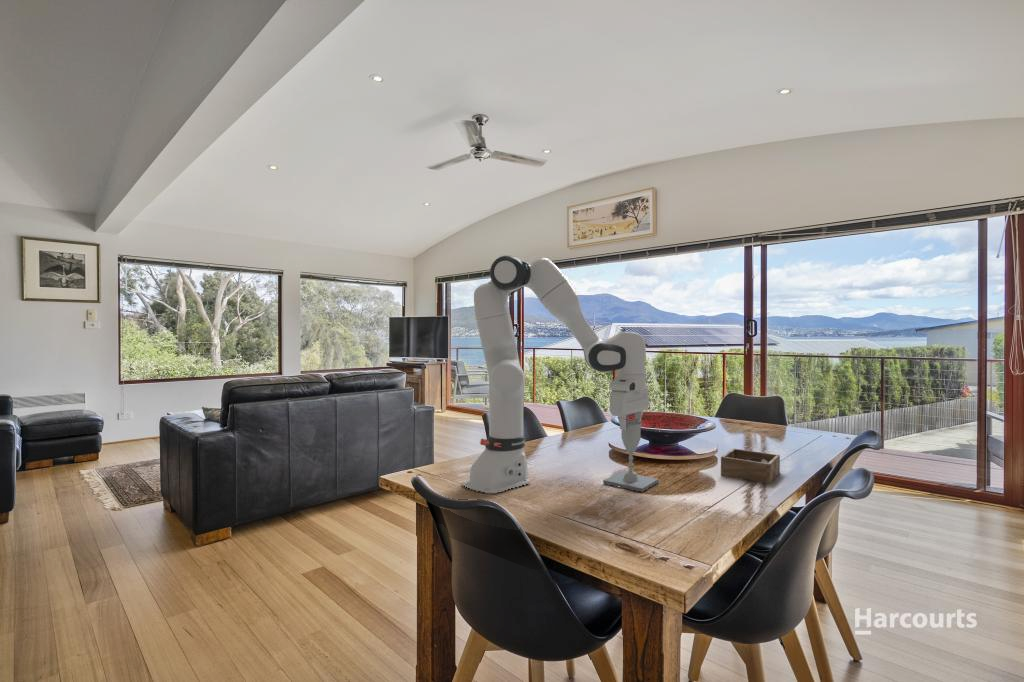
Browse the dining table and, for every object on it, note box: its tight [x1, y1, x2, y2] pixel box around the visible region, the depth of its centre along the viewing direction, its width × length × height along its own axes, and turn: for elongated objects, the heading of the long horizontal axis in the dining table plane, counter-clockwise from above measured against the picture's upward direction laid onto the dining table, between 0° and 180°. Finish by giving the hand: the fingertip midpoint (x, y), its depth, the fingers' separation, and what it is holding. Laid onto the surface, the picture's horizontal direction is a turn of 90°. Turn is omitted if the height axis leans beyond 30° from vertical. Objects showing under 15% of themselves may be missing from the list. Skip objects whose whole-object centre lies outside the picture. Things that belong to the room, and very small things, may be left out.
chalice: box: [620, 419, 643, 482], centre depth 152 cm, size 7×7×18 cm
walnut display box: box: [720, 448, 781, 484], centre depth 162 cm, size 15×15×6 cm
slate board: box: [602, 470, 660, 493], centre depth 152 cm, size 12×13×1 cm
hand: (630, 426), depth 152 cm, fingers open, 8 cm apart
